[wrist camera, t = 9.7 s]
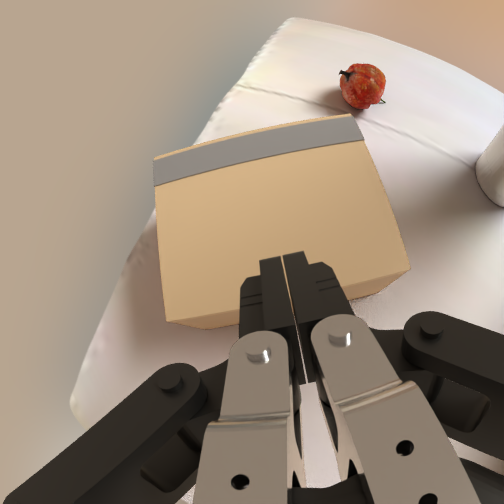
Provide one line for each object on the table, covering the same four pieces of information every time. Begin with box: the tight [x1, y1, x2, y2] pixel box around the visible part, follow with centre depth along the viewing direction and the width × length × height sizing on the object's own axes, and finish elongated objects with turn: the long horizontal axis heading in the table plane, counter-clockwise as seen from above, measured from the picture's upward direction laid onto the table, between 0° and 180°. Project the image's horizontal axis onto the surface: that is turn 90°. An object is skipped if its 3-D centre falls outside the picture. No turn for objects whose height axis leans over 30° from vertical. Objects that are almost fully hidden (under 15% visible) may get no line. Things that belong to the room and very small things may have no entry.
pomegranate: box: [339, 64, 386, 109], centre depth 37 cm, size 7×7×10 cm
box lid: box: [153, 113, 411, 322], centre depth 25 cm, size 16×20×1 cm
